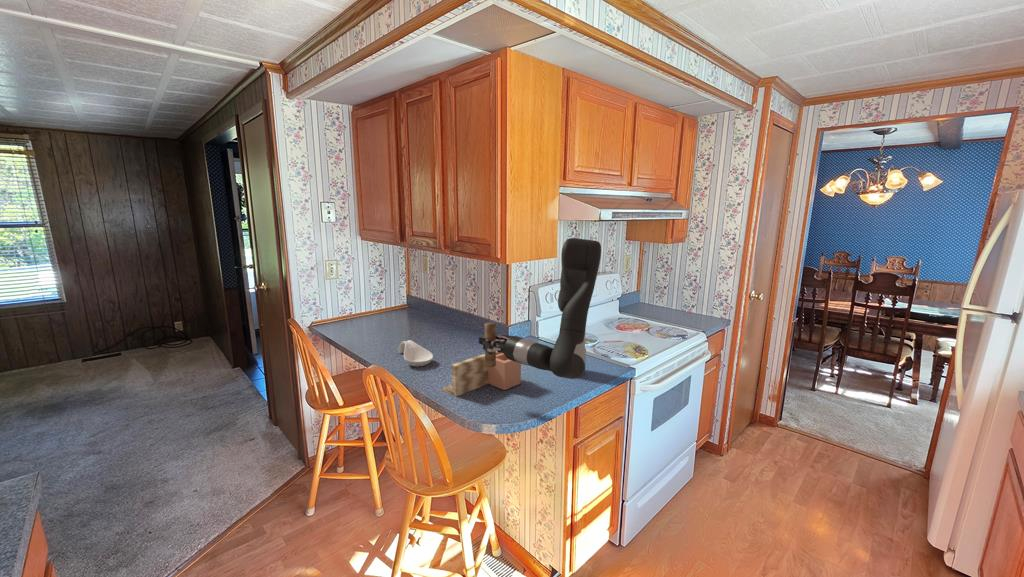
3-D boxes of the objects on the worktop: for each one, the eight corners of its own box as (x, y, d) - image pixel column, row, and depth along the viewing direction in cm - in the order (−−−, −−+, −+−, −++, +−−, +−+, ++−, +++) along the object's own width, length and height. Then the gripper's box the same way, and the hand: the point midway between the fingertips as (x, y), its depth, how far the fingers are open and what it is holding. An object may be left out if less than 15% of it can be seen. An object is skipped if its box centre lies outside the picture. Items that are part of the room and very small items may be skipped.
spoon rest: (438, 365, 177) (437, 349, 176) (411, 372, 170) (410, 354, 169) (414, 350, 196) (414, 335, 194) (389, 355, 189) (388, 339, 188)
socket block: (504, 376, 164) (504, 351, 162) (520, 383, 158) (520, 357, 156) (488, 383, 158) (487, 357, 156) (504, 390, 152) (504, 363, 150)
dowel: (490, 362, 143) (490, 321, 140) (498, 365, 141) (497, 323, 138) (482, 365, 141) (482, 323, 138) (490, 368, 138) (489, 326, 136)
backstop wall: (492, 372, 169) (492, 345, 167) (505, 376, 165) (505, 349, 163) (443, 390, 152) (442, 361, 150) (455, 396, 148) (455, 366, 146)
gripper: (538, 333, 134) (499, 323, 145) (506, 344, 124) (467, 332, 135) (538, 356, 135) (499, 344, 147) (506, 369, 125) (467, 355, 137)
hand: (484, 338), depth 141 cm, fingers closed on dowel, 3 cm apart
